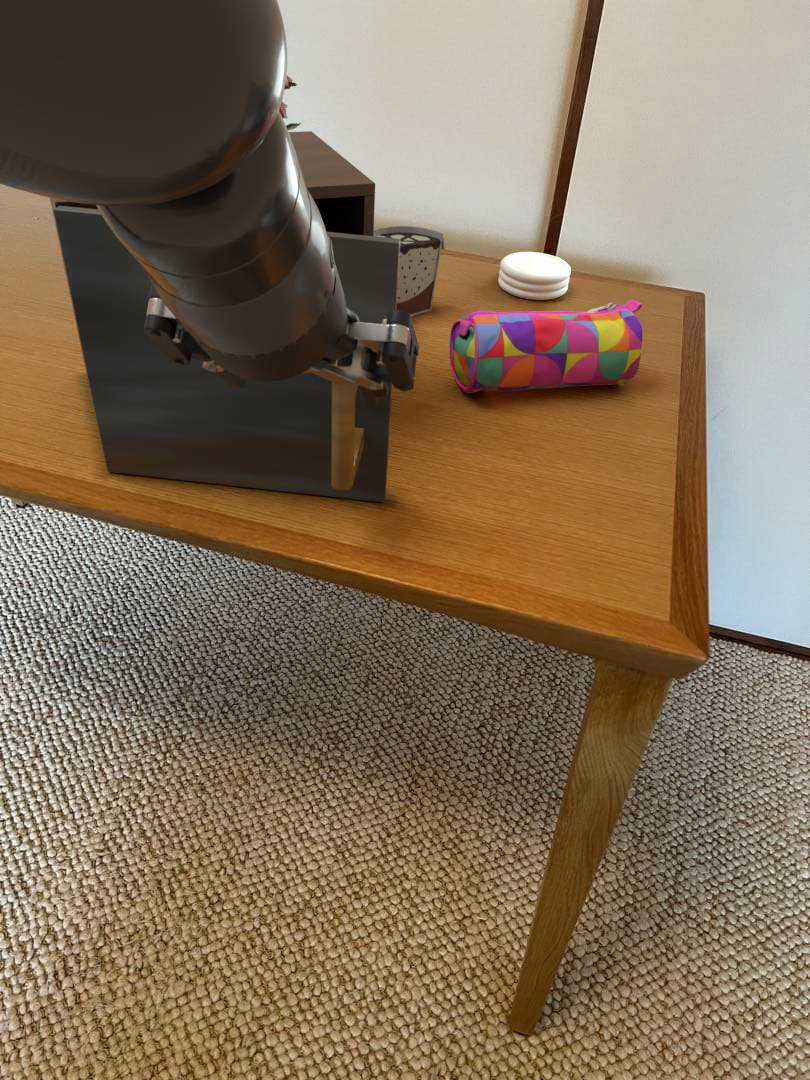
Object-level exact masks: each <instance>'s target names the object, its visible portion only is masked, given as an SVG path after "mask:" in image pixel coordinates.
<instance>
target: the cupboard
mask: <svg viewBox="0 0 810 1080" xmlns="http://www.w3.org/2000/svg"><path fill="white" fill-rule="evenodd" d="M288 132H289V135H290V137H291V140H292V143H293V146H294V148H295V151H296V154H297V158H298V161H299V164H300V168H301V171H302V174H303V177H304V181H305V184H306V187H307V190H308V191H309V193H310V194H311V196H312V198H313V200H314V202H315V204H316V206H317V208H318V210H319V212H320V215H321V217H322V220H323V223H324V226H325V229H326V232H334V233H344V234H354V235H365V236H373V235H374V230H375V205H376V204H375V203H376V183H375V181H373V180H372V179H370V178H369V177H368V176H367V175H366V174H364V173H363V171H361V170H360V169H359V168H357V167H356V166H355V165H354V164H352V163H351V162H350V161H349V160H347V159H346V158H345V157H344V156H343V155H342V154H340V153H339V152H338V151H336V150H335V149H334V148H332V146H330V145H329V144H328V143H327V142H325V140H323V139H322V138H321V137H320V136H318V135H317V134H316V133H314V131H311V130H307V131H288ZM49 201H50V207H51V210H52V215H53V221H54V225H55V229H56V230H55V231H56V236H57V240H58V243H59V248H60V253H61V258H62V263H63V267H64V273H65V277H66V278H65V279H66V282H67V287H68V292H69V296H70V297H69V298H70V302H71V307H72V311H73V316H74V321H75V326H76V330H77V335H78V336H77V337H78V341H79V346H80V350H81V355H82V359H83V364H84V369H85V375H86V378H87V383H88V387H89V391H90V392H91V389H90V384H89V379H88V374H87V369H86V365H85V360H84V355H83V350H82V345H81V340H80V336H79V331H78V326H77V321H76V316H75V311H74V307H73V302H72V297H71V292H70V287H69V283H68V278H67V273H66V268H65V263H64V258H63V254H62V249H61V244H60V239H59V234H58V229H57V225H56V220H55V215H54V209H55V208H56V207H58V206H68V207H78V208H88V209H98V208H97V206H96V205H89V204H82V203H76V202H70V201H64V200H58V199H53V198H49ZM90 395H91V396H92V394H91V393H90ZM91 398H92V397H91ZM91 400H93V398H92V399H91ZM92 403H93V402H92ZM93 405H94V403H93Z"/></svg>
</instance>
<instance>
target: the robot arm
mask: <svg viewBox="0 0 810 1080" xmlns="http://www.w3.org/2000/svg"><path fill="white" fill-rule="evenodd" d="M284 24H285V23H284V20H283V15H282V11H281V9H280V6H279V2H278V0H0V185H3V186H6V187H9V188H12V189H15V190H19V191H23V192H26V193H29V194H34V195H37V196H41V197H45V198H49V199H50V198H53V199H58V200H64V201H70V202H76V203H82V204H89V205H96V206H97V208H98V210H99V211H100V213H101V215H102V216H103V218H104V220H105V221H106V223H107V224H108V226H109V227H110V229H111V230H112V231H113V233H114V234H115V236H116V237H117V238H118V240H119V241H120V242H121V243H122V244H123V245H124V246H125V248H126V249H127V250H128V251H129V253H130V254H131V255H132V256H133V257H134V259H135V260H136V261H137V262H138V263H139V265H140V266H141V267H142V268H143V269H144V271H145V272H146V273H147V275H148V277H149V279H150V281H151V283H152V285H151V290H150V296H149V302H148V308H147V314H146V320H145V327H144V332H145V333H146V334H147V335H148V336H149V337H150V339H151V340H152V341H153V342H154V343H155V344H156V346H157V347H158V348H159V349H160V350H161V351H162V353H163V354H164V355H165V356H166V357H167V358H168V359H169V361H171V362H173V363H175V364H176V365H181V366H183V365H189V364H190V361H191V358H192V359H197V360H201V361H203V366H202V367H203V368H204V369H207V370H208V371H210V372H216V373H217V374H218V375H219V376H220V377H222V378H224V379H226V380H227V382H228V383H229V384H230V385H231V386H232V387H239V388H244V386H245V382H246V379H247V380H252V381H259V382H274V381H281V380H285V379H289V378H292V377H295V376H297V375H299V374H306V373H312V374H315V375H317V376H319V377H322V378H324V379H326V380H329V381H331V382H333V383H335V384H338V385H342V384H351V383H356V384H358V385H361V386H360V388H361V391H362V394H363V397H364V400H365V402H368V403H377V399H378V397H386V396H387V394H388V387H389V382H392V388H394V389H397V390H399V391H401V392H407V391H413V390H414V389H415V382H416V380H415V376H416V368H417V362H418V361H417V359H418V357H419V351H420V345H419V341H418V337H417V334H416V329H415V325H414V320H413V316H411V314H410V313H408V312H405V311H402V310H391V311H389V312H388V318H387V319H383V320H382V324H378V323H366V322H360V321H359V318H358V316H357V315H356V314H355V313H354V312H353V311H351V310H350V309H348V308H347V307H346V304H345V298H344V293H343V288H342V285H341V281H340V278H339V275H338V271H337V268H336V264H335V258H334V251H333V245H332V241H331V240H330V238H329V236H327V233H326V229H325V226H324V223H323V220H322V217H321V215H320V212H319V210H318V208H317V206H316V204H315V202H314V200H313V198H312V196H311V194H310V193H309V191H308V190H307V187H306V184H305V181H304V177H303V174H302V171H301V168H300V164H299V161H298V158H297V154H296V151H295V148H294V146H293V143H292V140H291V137H290V135H289V132H290V131H289V130H288V129H287V127H286V126H287V125H286V123H285V120H284V118H282V116H281V114H280V113H279V109H280V105H281V102H283V99H284V94H285V93H284V92H285V90H284V88H285V82H286V75H288V74H287V72H288V45H287V44H288V43H287V36H286V35H287V34H286V30H285V29H286V28H285V25H284ZM363 352H364V353H365V357H364V364H363V368H362V365H361V362H362V355H363ZM336 360H337V366H336V365H334V364H332V363H331V362H333V361H336Z"/></svg>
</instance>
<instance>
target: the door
mask: <svg viewBox="0 0 810 1080" xmlns="http://www.w3.org/2000/svg"><path fill="white" fill-rule="evenodd" d="M54 215H55V220H56V225H57V229H58V234H59V239H60V244H61V249H62V254H63V258H64V263H65V268H66V273H67V278H68V283H69V287H70V292H71V297H72V302H73V307H74V311H75V316H76V321H77V326H78V331H79V336H80V340H81V345H82V350H83V355H84V360H85V365H86V369H87V374H88V379H89V383H88V385H89V384H90V387H89V390H90V389H91V391H90V395H91V394H92V395H91V398H93V399H92V403H94V404H93V407H94V412H95V413H94V414H95V417H96V422H97V423H96V424H97V427H98V433H99V436H100V442H101V446H102V452H103V456H104V461H105V467H106V471H107V472H109V473H116V474H125V475H135V476H143V477H151V478H153V477H154V478H160V479H169V480H170V479H171V480H180V481H188V482H198V483H206V484H214V485H223V486H233V487H243V488H251V489H259V490H267V491H268V490H269V491H278V492H286V493H295V494H304V495H313V496H323V497H332V498H340V499H350V500H358V501H367V502H374V503H375V502H376V503H385V501H386V497H387V485H388V484H387V482H388V469H389V468H388V467H389V451H390V448H389V447H390V433H391V431H390V430H391V415H392V398H393V397H392V396H393V385H392V382H389V387H388V394H387V396H386V397H378V399H377V403H368V402H365V400H364V397H363V394H362V391H361V388H360V386H361V385H358V384H356V383H351V384H342V385H338V384H335V383H333V382H331V381H329V380H326V379H324V378H322V377H319V376H317V375H315V374H312V373H306V374H299V375H297V376H295V377H292V378H289V379H285V380H281V381H274V382H259V381H252V380H247V379H246V382H245V386H244V388H239V387H232V386H231V385H230V384H229V383H228V382H227V380H226V379H224V378H222V377H220V376H219V375H218V374H217V373H216V372H210V371H208V370H207V369H204V368H203V367H202V366H203V361H201V360H197V359H192V358H191V361H190V364H189V365H183V366H181V365H176V364H175V363H173V362H171V361H169V359H168V358H167V357H166V356H165V355H164V354H163V353H162V351H161V350H160V349H159V348H158V347H157V346H156V344H155V343H154V342H153V341H152V340H151V339H150V337H149V336H148V335H147V334H146V333H145V332H144V327H145V320H146V314H147V308H148V302H149V296H150V290H151V285H152V283H151V281H150V279H149V277H148V275H147V273H146V272H145V271H144V269H143V268H142V267H141V266H140V265H139V263H138V262H137V261H136V260H135V259H134V257H133V256H132V255H131V254H130V253H129V251H128V250H127V249H126V248H125V246H124V245H123V244H122V243H121V242H120V241H119V240H118V238H117V237H116V236H115V234H114V233H113V231H112V230H111V229H110V227H109V226H108V224H107V223H106V221H105V220H104V218H103V216H102V215H101V213H100V211H99V210H98V209H88V208H78V207H68V206H58V207H56V208H55V209H54ZM56 225H55V226H56ZM326 233H327V236H329V238H330V240H331V241H332V245H333V251H334V258H335V264H336V268H337V271H338V275H339V278H340V281H341V285H342V288H343V293H344V298H345V304H346V307H347V308H348V309H350V310H351V311H353V312H354V313H355V314H356V315H357V316H358V318H359V321H360V322H366V323H378V324H382V320H383V319H387V318H388V312H389V311H391V310H397V293H398V275H399V258H400V239H395V238H385V237H375V236H365V235H354V234H344V233H334V232H326ZM61 249H60V250H61ZM62 254H61V255H62ZM66 273H65V274H66ZM67 278H66V279H67ZM68 283H67V284H68ZM71 297H70V298H71ZM72 302H71V303H72ZM73 307H72V308H73ZM77 326H76V327H77ZM78 331H77V332H78ZM79 336H78V337H79ZM82 350H81V351H82ZM83 355H82V356H83ZM364 357H365V353H364V352H363V355H362V362H361V365H362V368H363V364H364ZM84 360H83V361H84ZM331 363H332V364H334V365H336V366H337V360H336V361H333V362H331ZM85 365H84V366H85ZM87 374H86V375H87ZM88 379H87V380H88Z"/></svg>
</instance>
